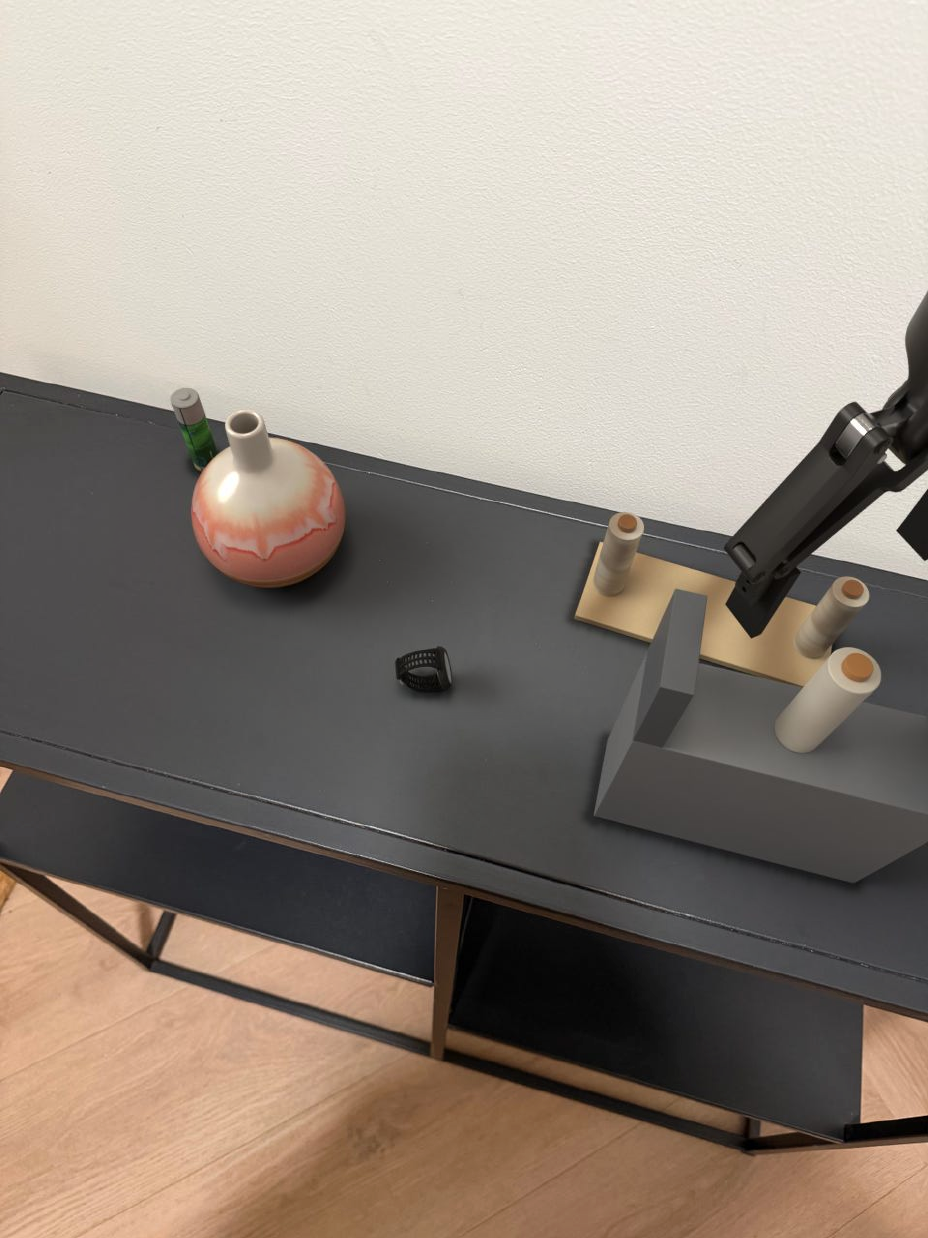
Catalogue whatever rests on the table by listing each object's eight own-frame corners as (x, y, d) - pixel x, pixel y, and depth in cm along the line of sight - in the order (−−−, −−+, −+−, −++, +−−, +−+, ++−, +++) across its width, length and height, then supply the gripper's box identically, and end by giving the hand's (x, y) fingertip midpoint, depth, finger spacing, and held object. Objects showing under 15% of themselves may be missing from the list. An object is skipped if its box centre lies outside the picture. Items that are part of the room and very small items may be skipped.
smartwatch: (447, 708, 73) (447, 683, 69) (391, 693, 74) (388, 667, 69) (460, 668, 75) (461, 641, 71) (405, 654, 76) (403, 626, 71)
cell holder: (833, 616, 79) (884, 552, 70) (821, 697, 75) (873, 639, 66) (598, 546, 82) (618, 476, 74) (574, 619, 78) (591, 555, 69)
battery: (216, 449, 88) (192, 381, 79) (224, 467, 86) (201, 399, 78) (191, 458, 87) (164, 390, 79) (199, 476, 86) (173, 409, 78)
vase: (189, 600, 78) (129, 475, 63) (232, 487, 85) (188, 351, 70) (332, 622, 77) (306, 501, 62) (364, 506, 84) (348, 373, 69)
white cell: (828, 731, 55) (896, 664, 47) (804, 762, 54) (869, 698, 46) (789, 703, 56) (849, 632, 48) (765, 732, 55) (822, 665, 47)
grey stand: (855, 801, 70) (1030, 668, 49) (854, 884, 66) (1041, 778, 46) (607, 739, 72) (675, 587, 51) (593, 816, 68) (659, 686, 48)
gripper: (1171, 172, 39) (940, 475, 57) (736, 315, 33) (630, 605, 51) (1316, 265, 36) (1021, 556, 54) (860, 444, 30) (700, 705, 48)
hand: (831, 580), depth 53 cm, fingers open, 13 cm apart
